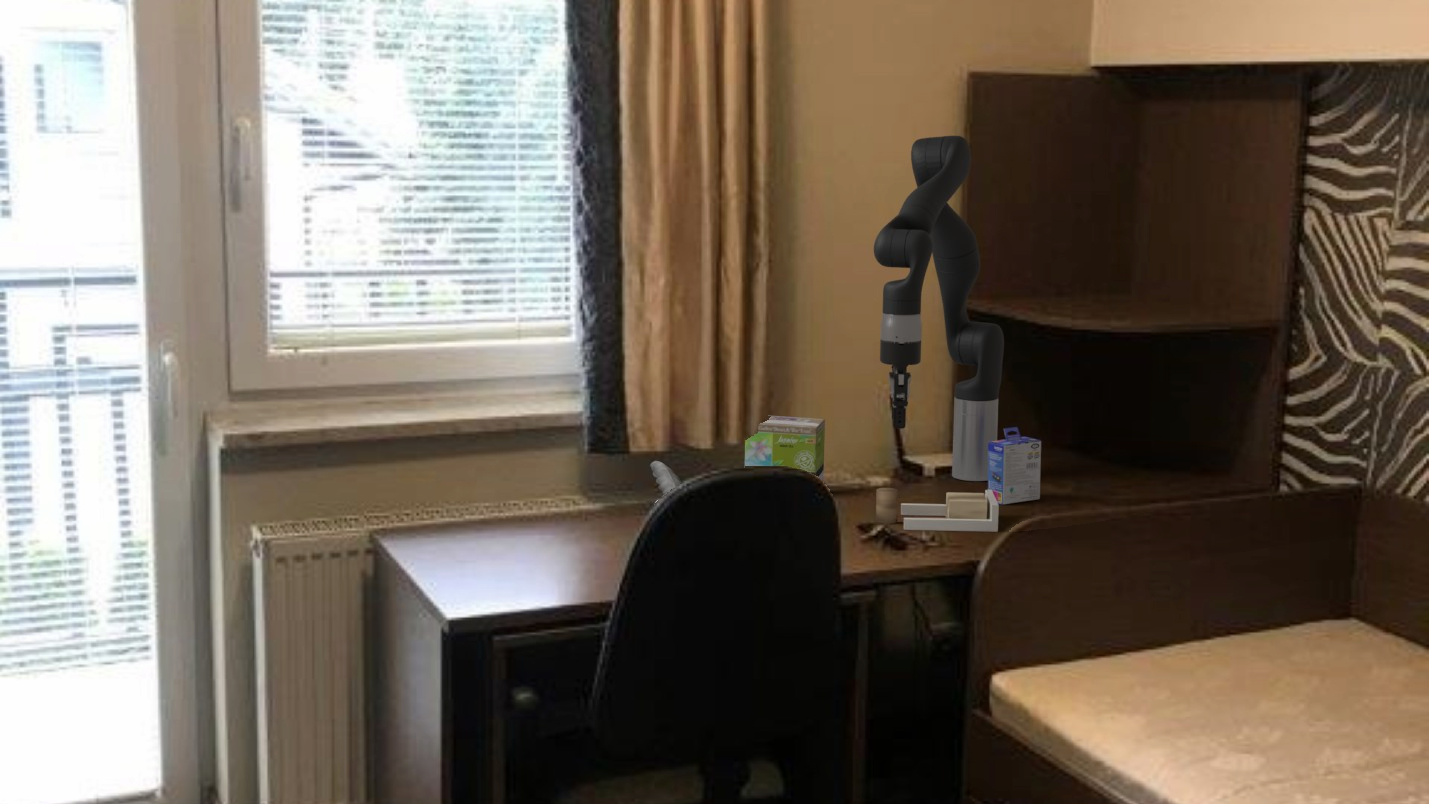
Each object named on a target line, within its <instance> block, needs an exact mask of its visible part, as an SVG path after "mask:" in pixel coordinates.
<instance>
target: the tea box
mask: <svg viewBox="0 0 1429 804" xmlns="http://www.w3.org/2000/svg"><path fill="white" fill-rule="evenodd" d="M770 416H771V417H770V418H769V420H767V421H765V422H763V423H760V424H759V425H758V430H759V431H758V433H757V434H754V436H751V437H750V438H748V439H747V440H745V439H744V467H745V466H788V467H792V468H797V469H802V470H805V471H807V472H811V473H812V474H814V475H816V476H818V477H819V478H821V480H823V481H824V471H825V470H824V469H825V434H826V433H825V432H826V431H825V429H826V427H825V426H826V419H825V418H813V417H798V416H797V417H796V416H783V415H770Z"/></svg>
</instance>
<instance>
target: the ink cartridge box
mask: <svg viewBox="0 0 1429 804" xmlns="http://www.w3.org/2000/svg"><path fill="white" fill-rule="evenodd" d="M1002 430H1003V433H1004V438H1005V439H999V440H998V439H997V441H990V442H988V481H987V490H992V492H993V494H994V496H995V498H996V501H997V503H998V505H1011V504H1015V503H1023V502H1029V501H1035V500H1040V498H1041V465H1042V464H1041V461H1042V460H1041V459H1042V457H1041V456H1042V455H1041V454H1042V440H1041V439H1037V438H1034V437H1031V436H1030V437H1028V436H1021V433H1020V431H1019V428H1018V427H1017V426H1014V427H1005V428H1003V429H1002ZM1009 432H1015V433H1016V434H1008V433H1009Z"/></svg>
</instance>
